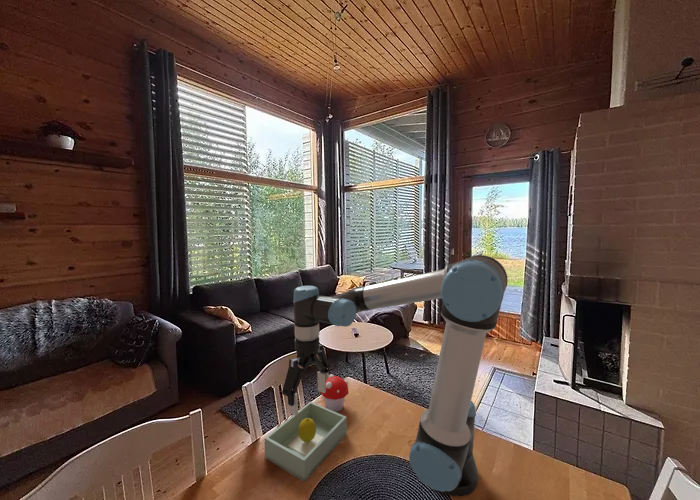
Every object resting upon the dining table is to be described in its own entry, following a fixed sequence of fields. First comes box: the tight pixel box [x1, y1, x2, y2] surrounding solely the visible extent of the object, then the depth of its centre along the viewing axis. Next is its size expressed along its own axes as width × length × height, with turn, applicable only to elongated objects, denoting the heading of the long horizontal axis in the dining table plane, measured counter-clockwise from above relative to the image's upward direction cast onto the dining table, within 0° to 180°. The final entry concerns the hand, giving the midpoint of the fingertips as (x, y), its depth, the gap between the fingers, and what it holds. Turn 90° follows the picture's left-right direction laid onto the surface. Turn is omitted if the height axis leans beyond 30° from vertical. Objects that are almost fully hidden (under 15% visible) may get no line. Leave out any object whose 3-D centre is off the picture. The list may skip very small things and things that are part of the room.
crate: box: [264, 401, 348, 482], centre depth 97 cm, size 16×22×6 cm
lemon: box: [299, 418, 316, 442], centre depth 97 cm, size 6×6×8 cm
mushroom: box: [320, 373, 349, 413], centre depth 117 cm, size 11×11×12 cm
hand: (308, 402), depth 95 cm, fingers open, 13 cm apart
